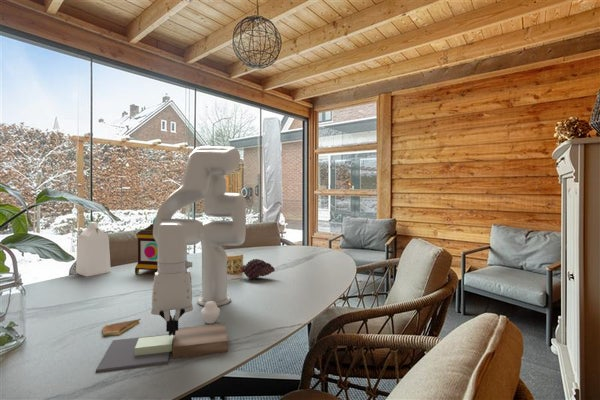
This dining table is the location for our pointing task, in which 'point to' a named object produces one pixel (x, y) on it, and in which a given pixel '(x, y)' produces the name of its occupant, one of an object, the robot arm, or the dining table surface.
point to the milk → (93, 251)
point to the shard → (118, 327)
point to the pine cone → (257, 268)
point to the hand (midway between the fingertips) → (172, 333)
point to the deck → (200, 340)
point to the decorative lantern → (147, 250)
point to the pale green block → (154, 345)
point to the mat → (128, 356)
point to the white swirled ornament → (210, 312)
